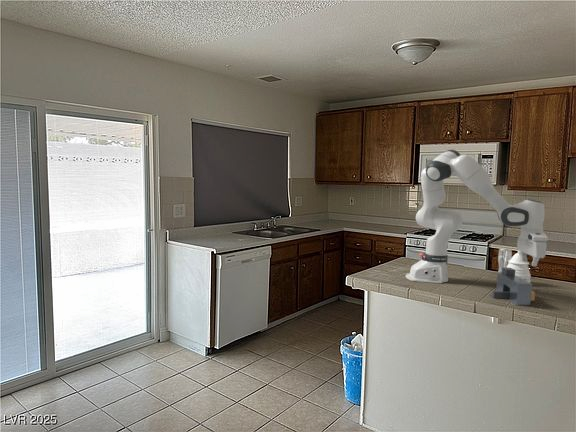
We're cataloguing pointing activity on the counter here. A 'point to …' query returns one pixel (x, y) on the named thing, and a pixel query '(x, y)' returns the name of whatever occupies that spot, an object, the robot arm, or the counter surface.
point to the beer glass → (504, 258)
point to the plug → (507, 295)
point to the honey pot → (520, 267)
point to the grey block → (514, 286)
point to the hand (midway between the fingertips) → (529, 263)
